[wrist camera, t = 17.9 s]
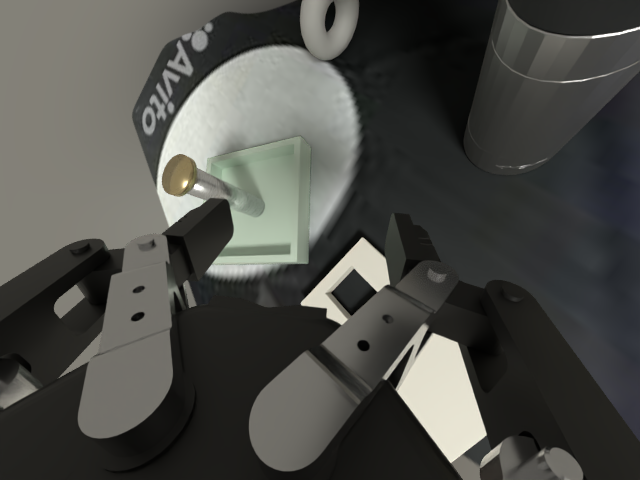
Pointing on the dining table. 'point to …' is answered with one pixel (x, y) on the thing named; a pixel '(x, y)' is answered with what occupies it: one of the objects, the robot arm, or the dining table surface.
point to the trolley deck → (416, 362)
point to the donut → (338, 36)
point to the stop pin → (207, 186)
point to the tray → (268, 202)
